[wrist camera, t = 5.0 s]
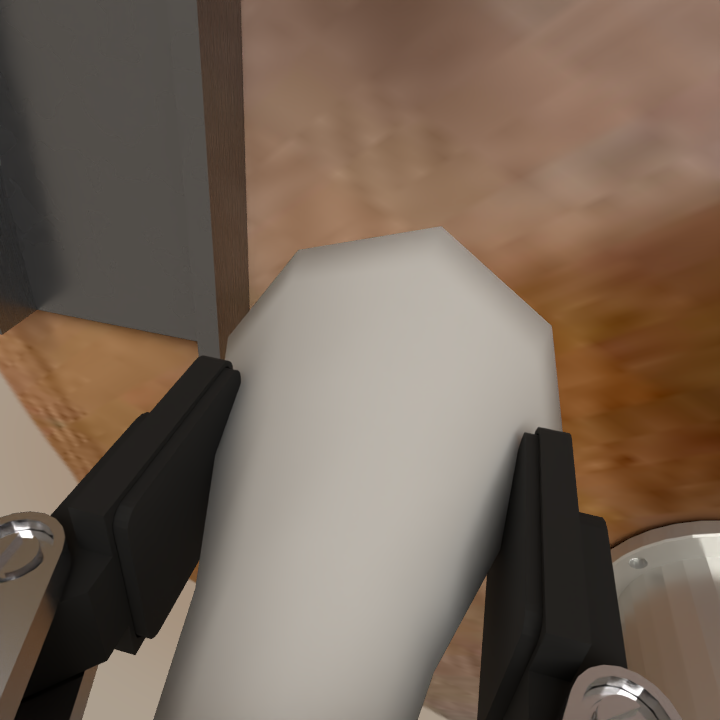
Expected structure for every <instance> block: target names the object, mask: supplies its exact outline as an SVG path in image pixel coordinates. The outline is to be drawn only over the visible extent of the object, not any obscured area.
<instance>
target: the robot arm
mask: <svg viewBox="0 0 720 720" xmlns="http://www.w3.org/2000/svg"><path fill="white" fill-rule="evenodd" d="M240 384H241V375H240V372H239V371H238V370H234V369H233V365H232V363H231V362H230V361H228V360H223V359H218V358H214V357H209V356H204V355H202V356H199V357H198V358H197V359H196V360H195V361H194V363H193V364H192V365H191V366H190V367H189V368H188V370H187V371H186V372H185V373H184V374H183V375H182V376H181V378H180V379H179V380H178V381H177V382H176V383H175V384H174V386H173V387H172V388H171V389H170V390H169V391H168V393H167V394H166V395H165V396H164V397H163V398H162V399H161V401H160V402H159V403H158V404H157V405H156V406H155V407H154V409H153V410H152V411H151V412H150V413H149V412H147V413H144V414H141V415H140V416H139V417H138V418H137V419H136V420H135V421H134V422H133V423H132V424H131V425H130V427H129V428H128V429H127V430H126V431H125V432H124V433H123V434H122V436H121V437H120V438H119V439H118V440H117V441H116V442H115V443H114V445H113V446H112V447H111V448H110V449H109V450H108V451H107V452H106V454H105V455H104V456H103V457H102V458H101V459H100V460H99V461H98V463H97V464H96V465H95V466H94V467H93V468H92V469H91V471H90V472H89V473H88V474H87V475H86V476H85V477H84V478H83V480H82V481H81V482H80V483H79V484H78V485H77V486H76V487H75V489H74V490H73V491H72V492H71V493H70V494H69V495H68V496H67V498H66V499H65V500H64V501H63V502H62V503H61V504H60V505H59V507H58V508H57V509H56V510H55V511H54V512H53V513H52V514H51V516H49V515H47V514H45V513H39V512H31V511H30V512H20V513H13V514H10V515H7V516H3V517H0V720H82V718H83V714H84V711H85V708H86V704H87V701H88V697H89V694H90V691H91V688H92V684H93V680H94V677H95V674H96V671H97V668H98V665H99V664H100V663H103V662H105V661H107V660H108V658H109V657H110V655H111V654H112V652H113V650H114V649H116V650H120V651H123V652H126V653H130V654H133V655H136V653H137V651H138V650H139V648H140V646H141V645H142V643H143V641H144V639H145V638H150V639H152V638H154V637H155V636H156V635H157V634H158V632H159V630H160V629H161V627H162V625H163V623H164V622H165V620H166V618H167V616H168V615H169V613H170V611H171V609H172V607H173V606H174V604H175V602H176V600H177V598H178V597H179V595H180V593H181V591H182V590H183V588H184V586H185V584H186V582H187V581H188V579H189V577H190V576H191V574H192V572H193V570H194V568H195V567H196V565H197V563H198V561H199V560H200V554H201V547H202V541H203V534H204V527H205V520H206V514H207V507H208V500H209V493H210V487H211V480H212V473H213V466H214V460H215V454H216V451H217V449H218V446H219V443H220V440H221V437H222V435H223V432H224V429H225V426H226V424H227V421H228V418H229V415H230V412H231V410H232V407H233V404H234V401H235V398H236V396H237V393H238V390H239V387H240ZM477 720H720V521H695V522H687V523H678V524H673V525H669V526H665V527H661V528H657V529H653V530H650V531H647V532H645V533H642V534H639V535H637V536H634V537H632V538H630V539H628V540H626V541H624V542H623V543H621V544H619V545H618V546H616V547H614V548H613V549H611V550H610V544H609V537H608V530H607V526H606V522H605V520H604V519H603V518H602V517H598V516H593V515H589V514H585V513H580V512H579V508H578V498H577V488H576V478H575V467H574V457H573V447H572V438H571V435H570V433H565V432H561V431H556V430H551V429H547V428H542V427H538V428H537V429H536V431H535V434H531V433H527V432H525V433H524V434H523V436H522V439H521V442H520V446H519V449H518V453H517V459H516V464H515V470H514V475H513V481H512V487H511V492H510V498H509V503H508V509H507V514H506V520H505V526H504V531H503V537H502V542H501V548H500V551H499V553H498V555H497V556H496V558H495V560H494V562H493V564H492V566H491V568H490V569H489V571H488V573H487V582H486V597H485V612H484V627H483V642H482V656H481V671H480V686H479V701H478V716H477Z"/></svg>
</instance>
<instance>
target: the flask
mask: <svg viewBox="0 0 720 720" xmlns="http://www.w3.org/2000/svg"><path fill="white" fill-rule="evenodd" d="M225 360H228V361H230V362H231V363H232V365H233V369H234V370H238V371H239V372H240V375H241V384H240V387H239V390H238V393H237V396H236V398H235V401H234V404H233V407H232V410H231V412H230V415H229V418H228V421H227V424H226V426H225V429H224V432H223V435H222V437H221V440H220V443H219V446H218V449H217V451H216V454H215V460H214V466H213V473H212V480H211V487H210V493H209V500H208V507H207V514H206V520H205V527H204V534H203V541H202V547H201V554H200V561H199V568H198V574H197V581H196V588H195V591H194V595H193V598H192V601H191V604H190V607H189V610H188V613H187V616H186V619H185V623H184V626H183V629H182V632H181V635H180V638H179V641H178V644H177V648H176V651H175V654H174V657H173V660H172V663H171V666H170V669H169V673H168V676H167V679H166V682H165V685H164V688H163V691H162V694H161V698H160V701H159V704H158V707H157V710H156V713H155V716H154V719H153V720H418V717H419V714H420V711H421V708H422V705H423V702H424V699H425V696H426V693H427V690H428V687H429V685H430V682H431V679H432V676H433V673H434V671H435V669H436V667H437V665H438V663H439V662H440V660H441V658H442V656H443V654H444V652H445V650H446V649H447V647H448V645H449V643H450V641H451V639H452V638H453V636H454V634H455V632H456V630H457V628H458V627H459V625H460V623H461V621H462V619H463V617H464V615H465V614H466V612H467V610H468V608H469V606H470V604H471V603H472V601H473V599H474V597H475V595H476V593H477V591H478V590H479V588H480V586H481V584H482V582H483V580H484V579H485V577H486V575H487V573H488V571H489V569H490V568H491V566H492V564H493V562H494V560H495V558H496V556H497V555H498V553H499V551H500V548H501V542H502V537H503V531H504V526H505V520H506V514H507V509H508V503H509V498H510V492H511V487H512V481H513V475H514V470H515V464H516V459H517V453H518V449H519V446H520V442H521V439H522V436H523V434H524V433H525V432H527V433H531V434H535V431H536V429H537V428H538V427H542V428H547V429H551V430H556V431H561V432H562V422H561V412H560V402H559V393H558V383H557V373H556V364H555V354H554V344H553V335H552V326H551V325H550V324H549V323H548V322H547V321H546V320H544V319H543V318H542V317H541V316H540V315H539V314H538V313H537V312H536V311H534V310H533V309H532V308H531V307H530V306H529V305H528V304H527V303H526V302H524V301H523V300H522V299H521V298H520V297H519V296H518V295H517V294H516V293H515V292H513V291H512V290H511V289H510V288H509V287H508V286H507V285H506V284H505V283H503V282H502V281H501V280H500V279H499V278H498V277H497V276H496V275H495V274H494V273H492V272H491V271H490V270H489V269H488V268H487V267H486V266H485V265H484V264H482V263H481V262H480V261H479V260H478V259H477V258H476V257H475V256H474V255H473V254H471V253H470V252H469V251H468V250H467V249H466V248H465V247H464V246H463V245H461V244H460V243H459V242H458V241H457V240H456V239H455V238H454V237H453V236H451V235H450V234H449V233H448V232H447V231H446V230H445V229H444V228H443V227H442V226H440V227H434V228H428V229H422V230H416V231H410V232H404V233H398V234H392V235H386V236H380V237H374V238H368V239H362V240H356V241H350V242H344V243H338V244H332V245H326V246H320V247H314V248H308V249H302V250H298V251H297V252H296V254H295V255H294V256H293V257H292V259H291V260H290V261H289V262H288V264H287V265H286V266H285V267H284V269H283V270H282V271H281V272H280V273H279V275H278V276H277V277H276V278H275V280H274V281H273V282H272V283H271V285H270V286H269V287H268V288H267V290H266V291H265V292H264V293H263V295H262V296H261V297H260V298H259V299H258V301H257V302H256V303H255V304H254V306H253V307H252V308H251V309H250V311H249V312H248V313H247V314H246V316H245V317H244V318H243V319H242V321H241V322H240V323H239V324H238V326H237V327H236V328H235V329H234V330H233V332H232V333H231V334H230V335H229V337H228V341H227V348H226V355H225Z"/></svg>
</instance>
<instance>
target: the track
mask: <svg viewBox="0 0 720 720" xmlns="http://www.w3.org/2000/svg"><path fill="white" fill-rule="evenodd" d="M36 310H42V311H47V312H52V313H57V314H62V315H67V316H72V317H77V318H82V319H87V320H92V321H97V322H102V323H107V324H112V325H117V326H122V327H128V328H133V329H138V330H143V331H148V332H153V333H158V334H163V335H168V336H173V337H178V338H183V339H188V340H193V341H197V342H198V353H199V356H202V355H204V356H209V357H214V358H218V359H223V360H225V355H226V348H227V341H228V337H229V335H230V334H231V333H232V332H233V330H234V329H235V328H236V327H237V326H238V324H239V323H240V322H241V321H242V319H243V318H244V317H245V316H246V314H247V313H248V312H249V283H248V248H247V214H246V179H245V145H244V110H243V75H242V41H241V6H240V0H0V334H1V335H3V334H4V333H5V332H7V331H8V330H9V329H11V328H12V327H14V326H15V325H16V324H18V323H19V322H21V321H22V320H23V319H25V318H26V317H27V316H29V315H30V314H32V313H33V312H34V311H36Z"/></svg>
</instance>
